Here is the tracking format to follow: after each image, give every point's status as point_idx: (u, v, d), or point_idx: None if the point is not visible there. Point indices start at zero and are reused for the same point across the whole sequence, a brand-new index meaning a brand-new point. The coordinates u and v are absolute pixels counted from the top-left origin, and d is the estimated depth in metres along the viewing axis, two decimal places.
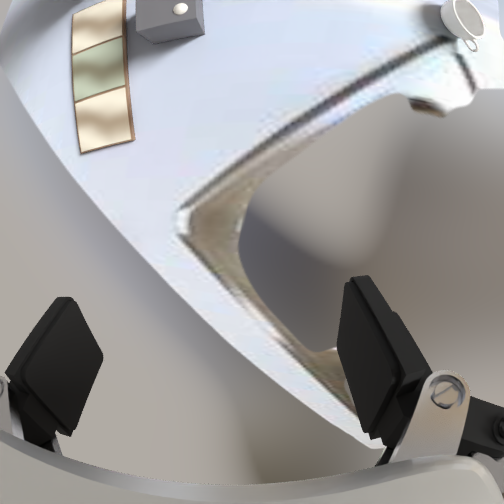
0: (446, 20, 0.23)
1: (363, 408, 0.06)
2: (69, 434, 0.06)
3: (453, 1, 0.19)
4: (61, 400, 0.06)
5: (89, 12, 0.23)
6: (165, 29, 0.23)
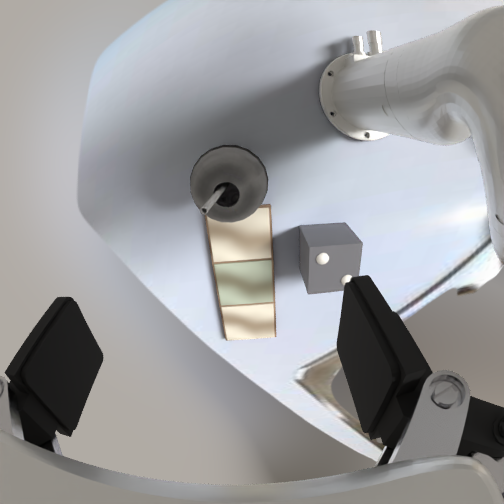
0: None
1: (363, 408, 0.06)
2: (69, 434, 0.06)
3: None
4: (61, 400, 0.06)
5: None
6: None
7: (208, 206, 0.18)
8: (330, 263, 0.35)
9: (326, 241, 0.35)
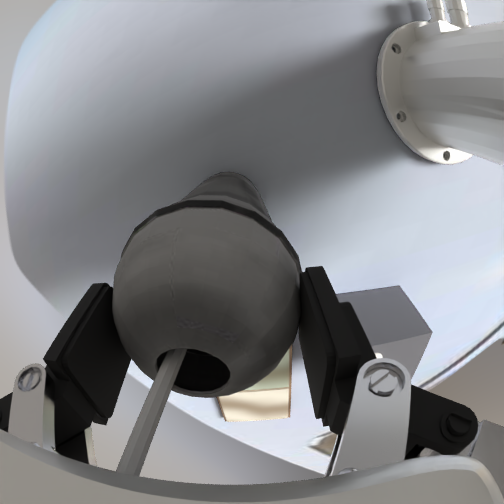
0: None
1: (314, 394, 0.07)
2: (104, 423, 0.07)
3: None
4: (99, 387, 0.07)
5: None
6: None
7: None
8: None
9: (380, 332, 0.20)
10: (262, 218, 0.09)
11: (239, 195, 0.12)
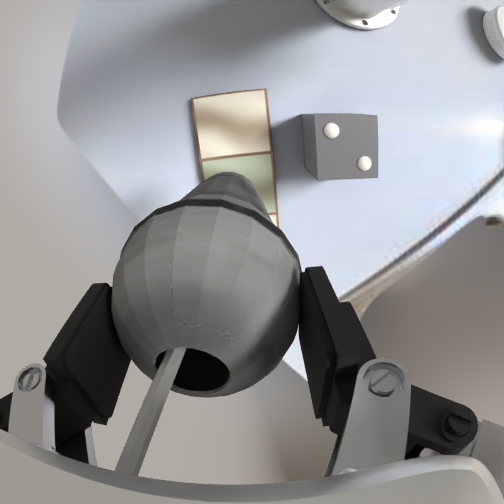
0: None
1: (314, 394, 0.07)
2: (104, 423, 0.07)
3: None
4: (99, 386, 0.07)
5: (219, 104, 0.30)
6: None
7: None
8: (342, 138, 0.26)
9: None
10: (262, 217, 0.09)
11: (239, 194, 0.12)
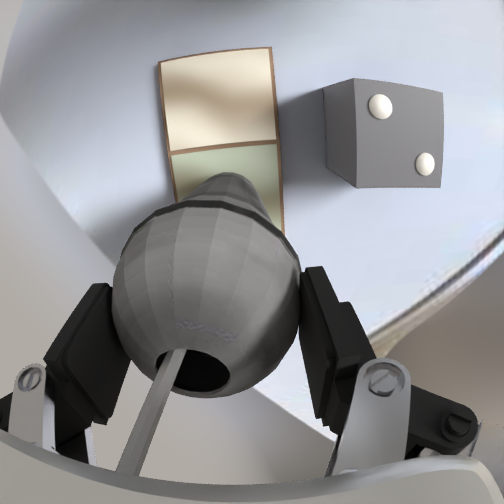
0: None
1: (314, 394, 0.07)
2: (104, 423, 0.07)
3: None
4: (99, 386, 0.07)
5: (198, 68, 0.18)
6: None
7: None
8: (396, 121, 0.14)
9: None
10: (262, 218, 0.09)
11: (239, 195, 0.12)
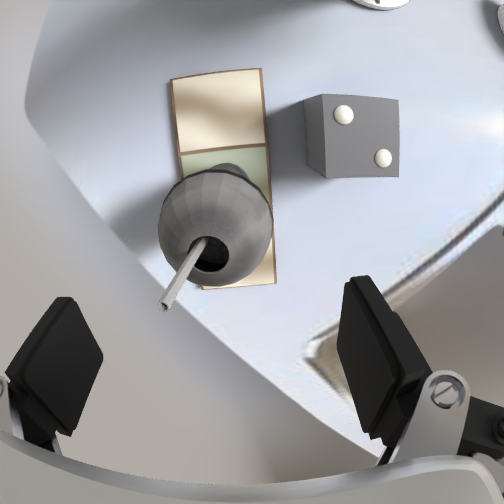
0: None
1: (363, 408, 0.06)
2: (69, 434, 0.06)
3: None
4: (61, 400, 0.06)
5: (203, 86, 0.23)
6: None
7: (172, 296, 0.10)
8: (357, 125, 0.20)
9: None
10: (247, 179, 0.16)
11: (234, 172, 0.20)
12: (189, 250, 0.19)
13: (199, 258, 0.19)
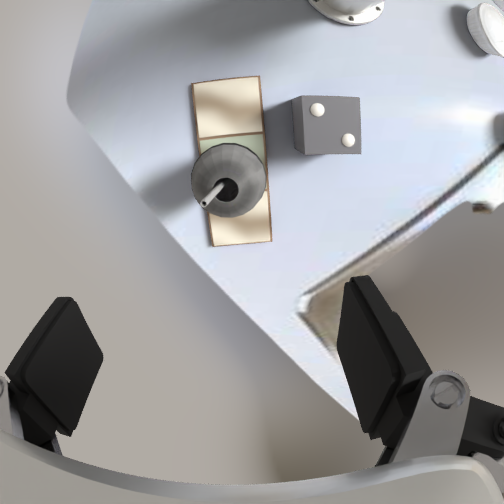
0: None
1: (363, 408, 0.06)
2: (69, 434, 0.06)
3: None
4: (61, 400, 0.06)
5: (216, 89, 0.32)
6: None
7: (208, 200, 0.19)
8: (327, 117, 0.29)
9: None
10: (249, 149, 0.25)
11: None
12: None
13: None
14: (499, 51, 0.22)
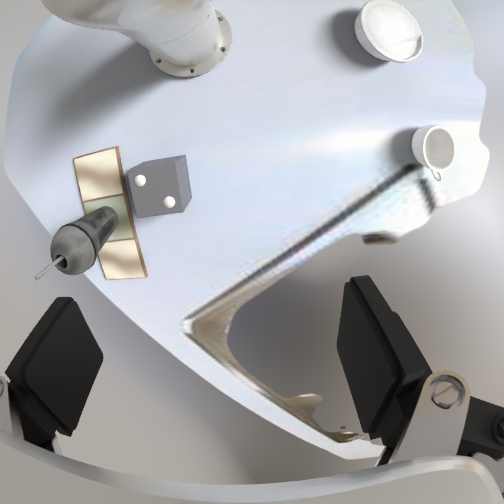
0: (414, 153, 0.39)
1: (363, 408, 0.06)
2: (69, 434, 0.06)
3: (424, 136, 0.34)
4: (61, 400, 0.06)
5: (88, 162, 0.39)
6: None
7: (39, 275, 0.26)
8: (149, 185, 0.36)
9: (146, 165, 0.36)
10: (81, 227, 0.32)
11: (88, 220, 0.35)
12: None
13: None
14: (391, 56, 0.29)
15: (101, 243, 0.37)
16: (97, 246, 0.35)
